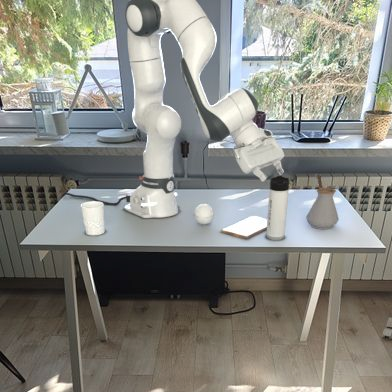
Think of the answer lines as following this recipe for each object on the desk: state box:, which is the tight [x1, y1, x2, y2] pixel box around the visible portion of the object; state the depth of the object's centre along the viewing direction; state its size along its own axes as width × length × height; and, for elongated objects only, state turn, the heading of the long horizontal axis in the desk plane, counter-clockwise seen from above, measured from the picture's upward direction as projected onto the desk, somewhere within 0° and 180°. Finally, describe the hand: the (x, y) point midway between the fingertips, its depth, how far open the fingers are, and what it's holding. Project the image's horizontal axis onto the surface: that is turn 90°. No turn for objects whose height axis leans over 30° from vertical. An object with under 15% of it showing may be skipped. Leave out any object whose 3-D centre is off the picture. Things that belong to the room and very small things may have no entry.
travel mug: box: [266, 175, 290, 241], centre depth 169 cm, size 6×7×20 cm
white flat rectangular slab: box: [221, 214, 268, 240], centre depth 182 cm, size 11×20×1 cm, turn 140°
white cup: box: [80, 200, 106, 236], centre depth 177 cm, size 8×8×10 cm
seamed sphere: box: [193, 203, 215, 226], centre depth 183 cm, size 10×7×7 cm
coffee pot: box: [306, 172, 340, 230], centre depth 183 cm, size 21×12×15 cm, turn 0°
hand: (273, 176), depth 164 cm, fingers open, 8 cm apart
